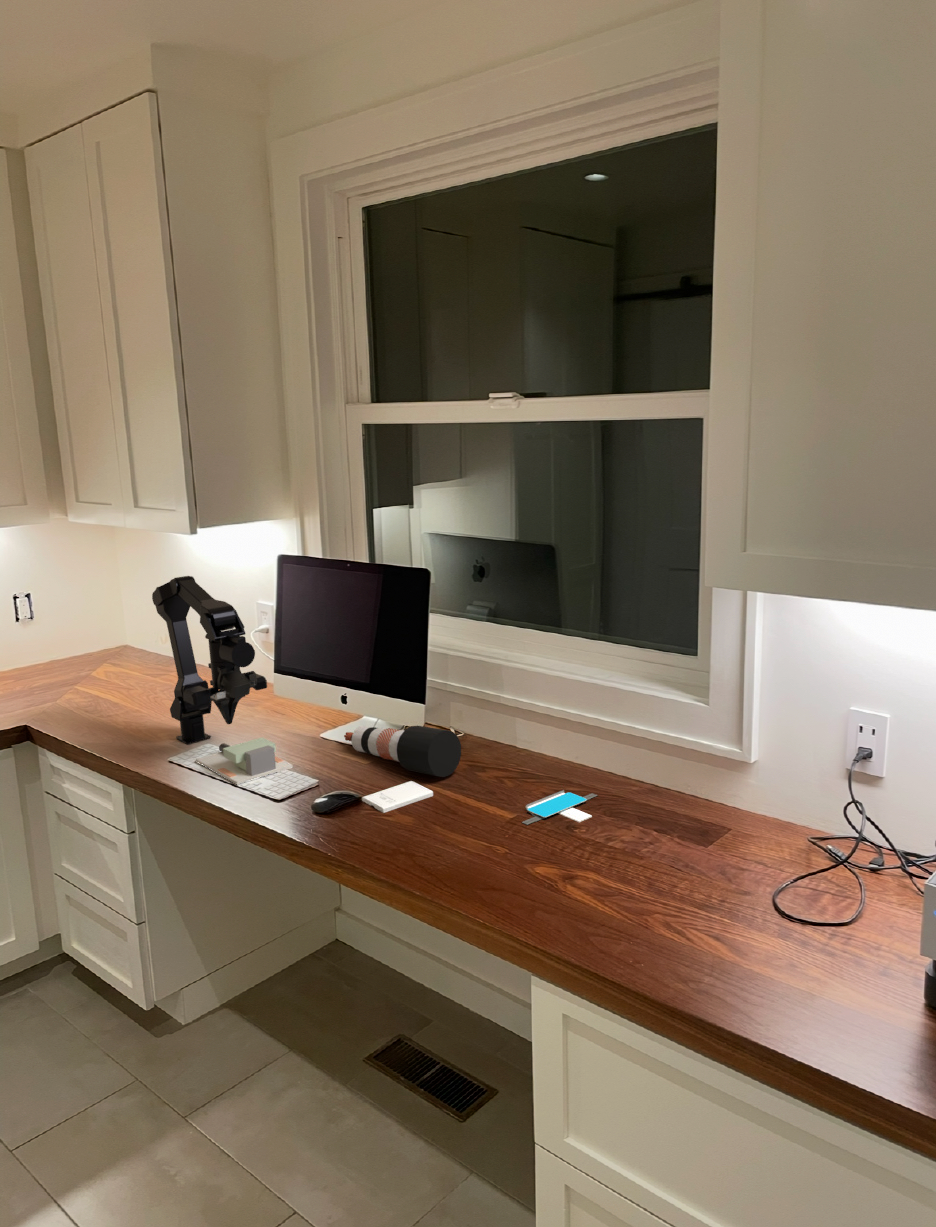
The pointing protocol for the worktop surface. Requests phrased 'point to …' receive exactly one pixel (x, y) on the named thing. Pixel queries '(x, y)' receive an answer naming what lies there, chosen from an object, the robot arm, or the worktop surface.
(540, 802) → the phone stand
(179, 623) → the robot arm
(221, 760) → the board
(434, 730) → the banded black grey cylinder
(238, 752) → the green block
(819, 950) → the worktop surface
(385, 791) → the external hard drive
